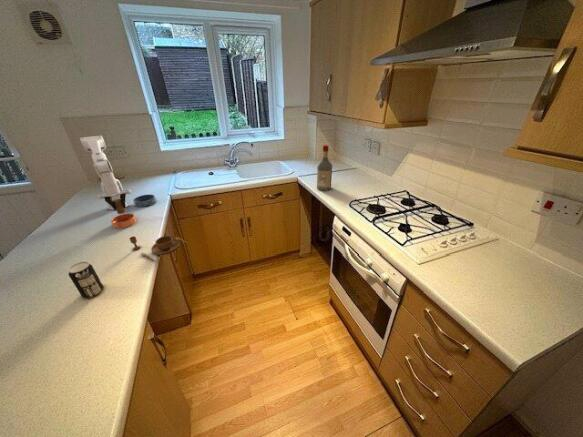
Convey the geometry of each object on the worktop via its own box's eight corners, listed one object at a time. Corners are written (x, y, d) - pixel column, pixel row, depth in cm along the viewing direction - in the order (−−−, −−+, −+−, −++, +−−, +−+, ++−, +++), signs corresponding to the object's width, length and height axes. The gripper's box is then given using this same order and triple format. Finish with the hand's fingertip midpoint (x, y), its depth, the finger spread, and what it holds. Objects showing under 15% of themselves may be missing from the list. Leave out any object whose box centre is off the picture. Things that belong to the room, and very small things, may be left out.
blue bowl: (131, 207, 152) (128, 201, 150) (144, 199, 162) (142, 194, 160) (147, 208, 150) (145, 202, 148) (160, 200, 160) (158, 194, 158)
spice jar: (115, 213, 129) (110, 201, 125) (121, 210, 132) (116, 198, 128) (122, 214, 128) (116, 201, 124) (128, 210, 131) (123, 198, 128)
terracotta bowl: (108, 228, 128) (105, 222, 126) (124, 219, 138) (122, 212, 136) (126, 230, 126) (123, 223, 125) (141, 220, 136) (139, 214, 134)
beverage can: (90, 286, 90) (75, 261, 85) (108, 285, 91) (94, 260, 85) (77, 299, 85) (61, 274, 79) (97, 298, 85) (82, 272, 79)
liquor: (329, 191, 166) (331, 147, 151) (316, 190, 168) (317, 146, 154) (331, 186, 173) (333, 144, 159) (319, 185, 176) (320, 143, 161)
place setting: (155, 263, 101) (151, 252, 98) (130, 249, 111) (126, 239, 108) (190, 243, 114) (187, 232, 111) (165, 232, 124) (162, 222, 121)
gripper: (91, 190, 116) (103, 214, 123) (126, 184, 122) (135, 207, 129) (93, 185, 121) (104, 209, 128) (127, 180, 127) (135, 203, 134)
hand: (120, 208), depth 129 cm, fingers closed on spice jar, 4 cm apart
